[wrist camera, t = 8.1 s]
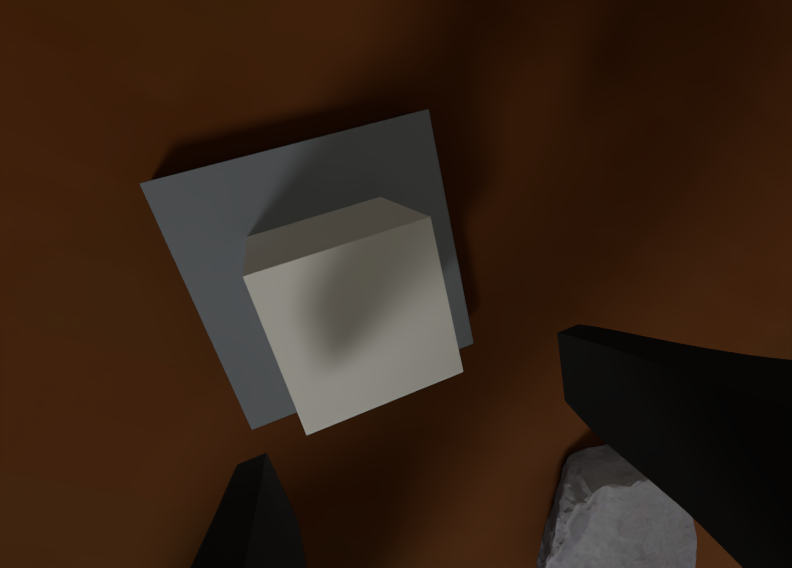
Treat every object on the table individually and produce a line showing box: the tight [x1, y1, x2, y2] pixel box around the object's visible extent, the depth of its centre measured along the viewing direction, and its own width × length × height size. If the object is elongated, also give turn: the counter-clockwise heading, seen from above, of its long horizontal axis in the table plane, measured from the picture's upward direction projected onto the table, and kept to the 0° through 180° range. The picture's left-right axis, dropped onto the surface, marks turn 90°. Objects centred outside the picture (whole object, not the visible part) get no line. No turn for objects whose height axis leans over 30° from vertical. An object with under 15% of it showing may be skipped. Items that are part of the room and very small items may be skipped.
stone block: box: [537, 444, 697, 568], centre depth 27 cm, size 12×5×10 cm
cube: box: [243, 197, 463, 435], centre depth 14 cm, size 5×5×5 cm
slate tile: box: [140, 109, 473, 429], centre depth 17 cm, size 10×10×2 cm
